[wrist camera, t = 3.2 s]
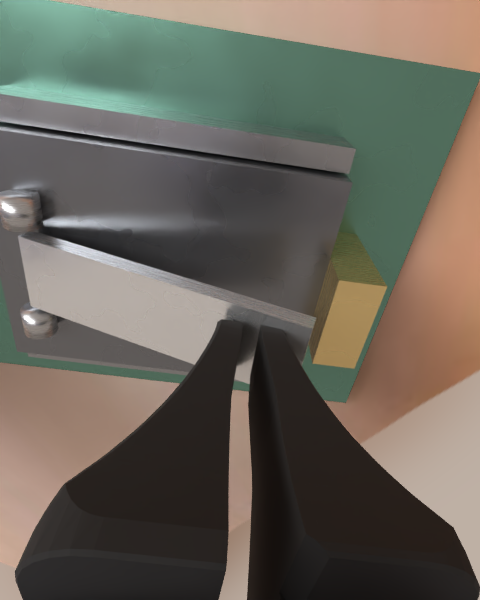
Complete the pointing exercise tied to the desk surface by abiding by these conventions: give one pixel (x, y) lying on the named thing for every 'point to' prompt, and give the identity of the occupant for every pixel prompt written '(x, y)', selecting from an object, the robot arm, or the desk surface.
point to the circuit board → (213, 174)
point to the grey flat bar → (148, 302)
